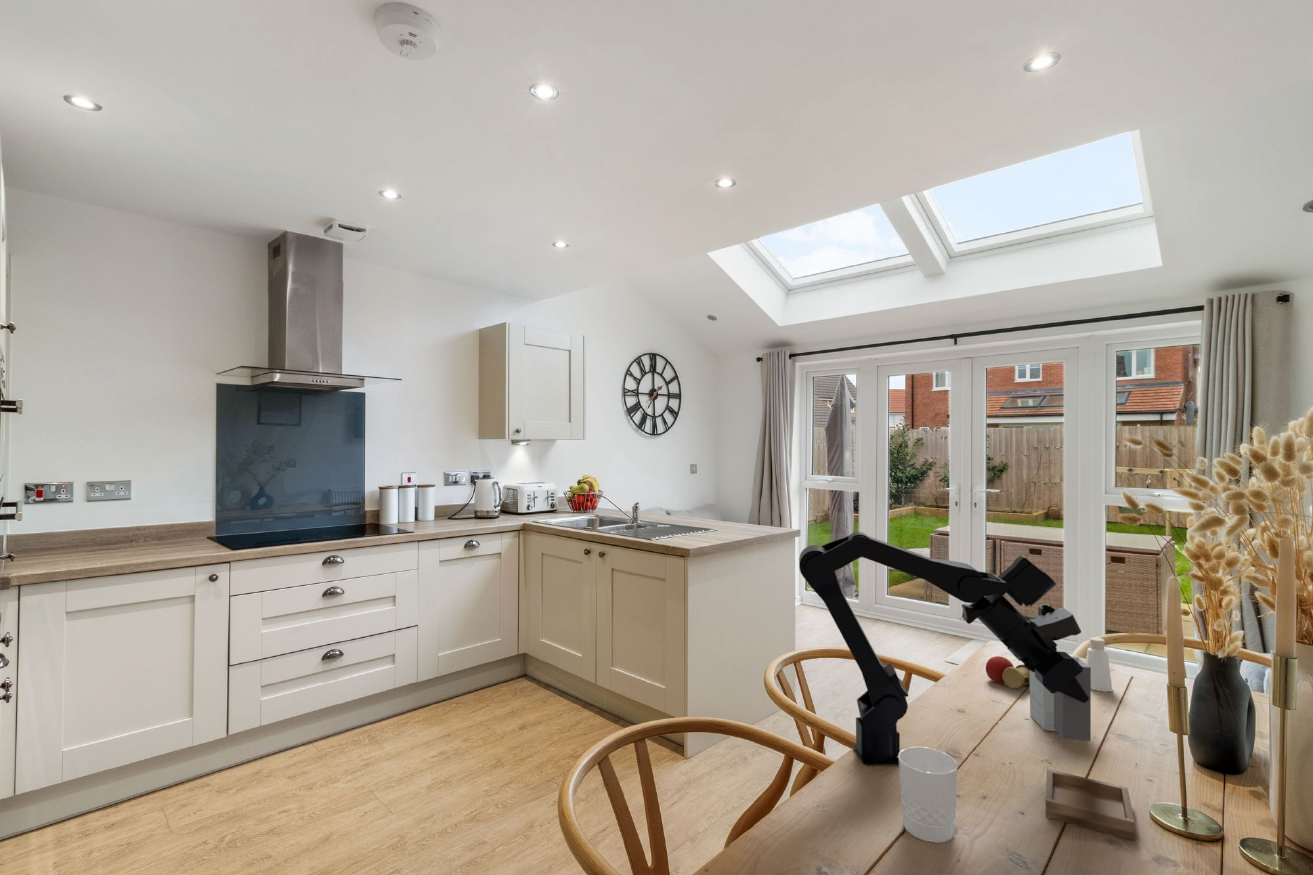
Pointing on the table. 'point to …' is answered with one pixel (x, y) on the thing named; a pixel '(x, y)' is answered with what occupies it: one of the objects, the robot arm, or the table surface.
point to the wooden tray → (1089, 804)
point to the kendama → (1007, 672)
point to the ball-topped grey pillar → (1074, 709)
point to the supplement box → (1041, 704)
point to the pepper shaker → (1099, 665)
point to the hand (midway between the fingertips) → (1081, 695)
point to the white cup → (928, 793)
